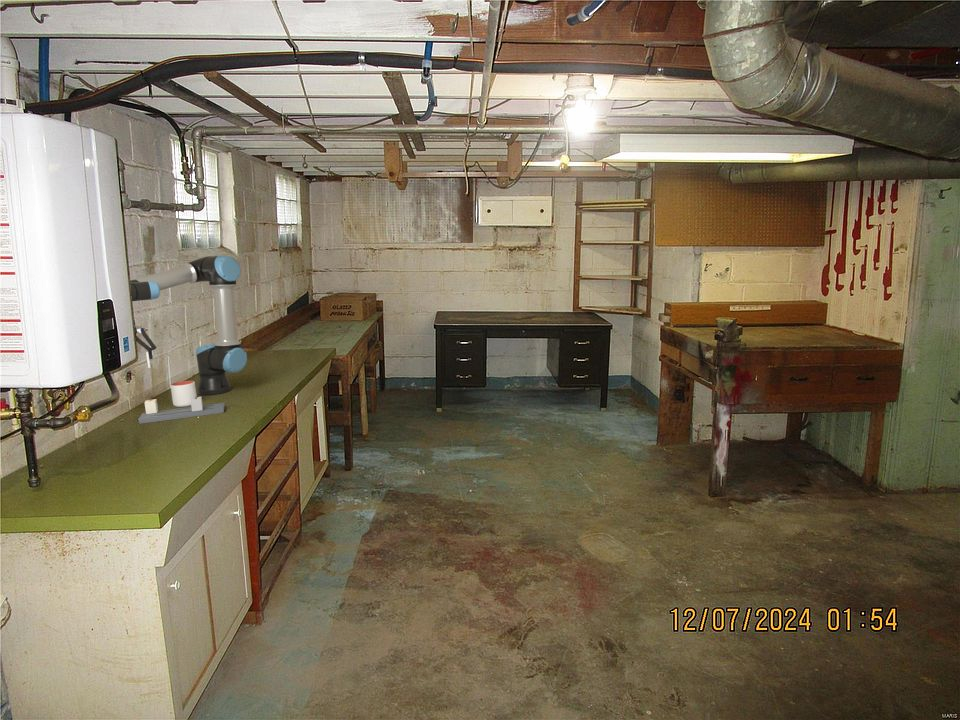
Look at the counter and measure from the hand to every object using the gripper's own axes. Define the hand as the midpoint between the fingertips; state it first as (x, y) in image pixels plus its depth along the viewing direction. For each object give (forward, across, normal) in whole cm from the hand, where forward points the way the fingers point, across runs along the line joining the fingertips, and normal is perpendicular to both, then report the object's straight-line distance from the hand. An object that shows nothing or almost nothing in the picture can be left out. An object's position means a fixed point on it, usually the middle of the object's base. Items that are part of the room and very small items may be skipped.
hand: (131, 369), depth 260 cm
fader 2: (+19, +23, -5) cm, 30 cm away
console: (+21, +17, -2) cm, 27 cm away
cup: (+22, +16, +18) cm, 32 cm away
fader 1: (+19, +5, +1) cm, 20 cm away
